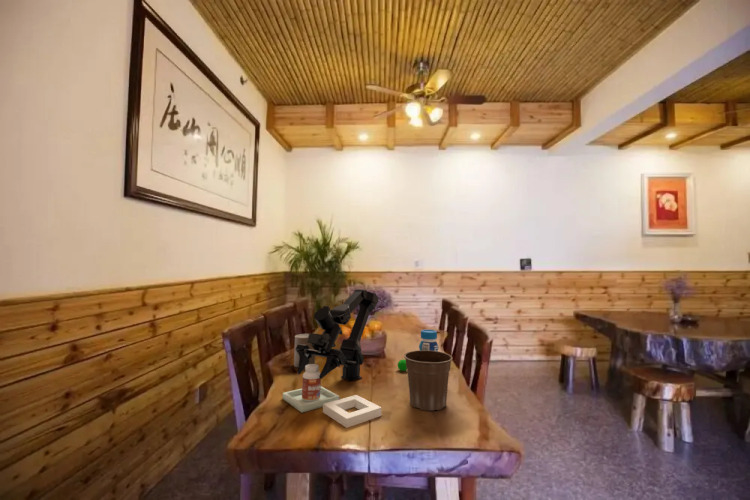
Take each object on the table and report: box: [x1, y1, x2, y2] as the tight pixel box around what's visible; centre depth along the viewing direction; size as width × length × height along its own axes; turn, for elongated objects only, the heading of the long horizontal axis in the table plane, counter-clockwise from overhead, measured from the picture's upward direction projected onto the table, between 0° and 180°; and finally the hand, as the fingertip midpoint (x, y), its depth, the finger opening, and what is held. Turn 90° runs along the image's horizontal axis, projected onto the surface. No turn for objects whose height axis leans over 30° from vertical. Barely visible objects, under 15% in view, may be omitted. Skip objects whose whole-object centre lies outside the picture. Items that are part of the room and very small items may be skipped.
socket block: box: [322, 394, 382, 429], centre depth 103 cm, size 13×13×2 cm
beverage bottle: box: [418, 329, 439, 351], centre depth 138 cm, size 8×8×20 cm
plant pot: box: [403, 349, 453, 412], centre depth 112 cm, size 16×16×16 cm
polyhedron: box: [397, 359, 407, 372], centre depth 149 cm, size 5×5×5 cm
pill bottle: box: [301, 363, 322, 402], centre depth 113 cm, size 6×6×11 cm
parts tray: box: [282, 385, 340, 414], centre depth 113 cm, size 14×14×2 cm
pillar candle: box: [293, 332, 316, 368], centre depth 154 cm, size 10×10×15 cm
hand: (309, 375), depth 112 cm, fingers open, 9 cm apart
